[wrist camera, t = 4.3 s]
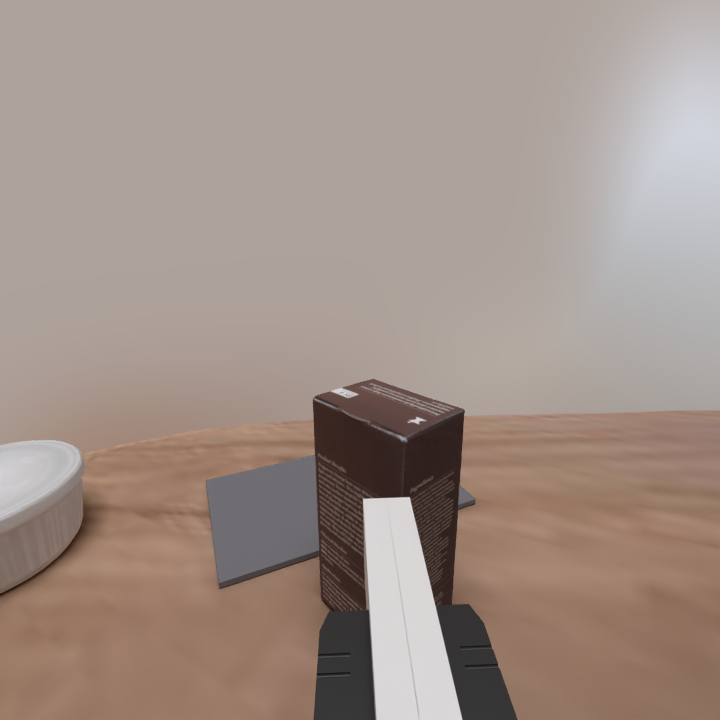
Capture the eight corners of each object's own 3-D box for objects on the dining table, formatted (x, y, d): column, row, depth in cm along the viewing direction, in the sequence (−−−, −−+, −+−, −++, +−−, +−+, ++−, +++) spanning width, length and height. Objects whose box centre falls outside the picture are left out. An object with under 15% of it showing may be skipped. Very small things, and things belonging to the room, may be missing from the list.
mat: (402, 438, 40) (402, 434, 40) (475, 503, 30) (475, 498, 30) (206, 484, 33) (205, 480, 33) (219, 588, 23) (218, 583, 23)
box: (455, 618, 21) (470, 406, 18) (396, 680, 18) (399, 443, 15) (374, 555, 25) (373, 373, 22) (316, 597, 23) (303, 396, 19)
